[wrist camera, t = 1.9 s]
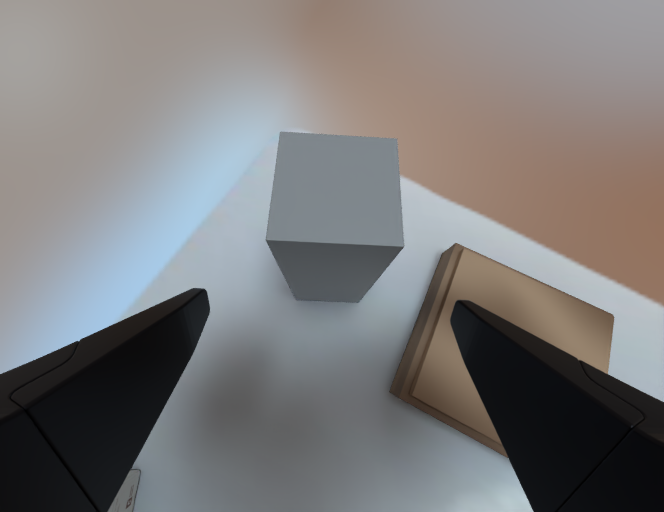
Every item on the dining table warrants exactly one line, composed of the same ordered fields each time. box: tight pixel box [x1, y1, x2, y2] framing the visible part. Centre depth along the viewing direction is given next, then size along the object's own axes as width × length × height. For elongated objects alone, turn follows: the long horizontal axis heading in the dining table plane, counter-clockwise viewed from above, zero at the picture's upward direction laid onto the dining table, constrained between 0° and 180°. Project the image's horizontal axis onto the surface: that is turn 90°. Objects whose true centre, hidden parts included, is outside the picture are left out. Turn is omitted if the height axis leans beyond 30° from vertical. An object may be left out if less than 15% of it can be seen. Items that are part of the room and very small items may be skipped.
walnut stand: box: [389, 243, 614, 458], centre depth 18 cm, size 12×12×3 cm
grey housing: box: [266, 132, 404, 303], centre depth 16 cm, size 5×5×12 cm
